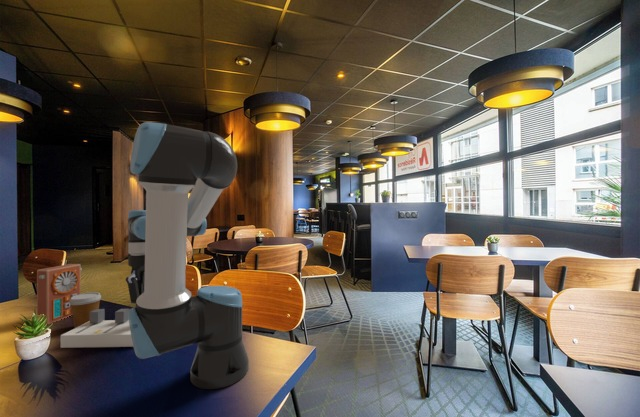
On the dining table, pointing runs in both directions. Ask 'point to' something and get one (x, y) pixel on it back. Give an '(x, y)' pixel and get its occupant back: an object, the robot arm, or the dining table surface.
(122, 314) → the tab
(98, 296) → the disposable coffee cup
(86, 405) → the dining table surface
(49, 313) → the control panel
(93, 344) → the switch bank
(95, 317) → the tab
